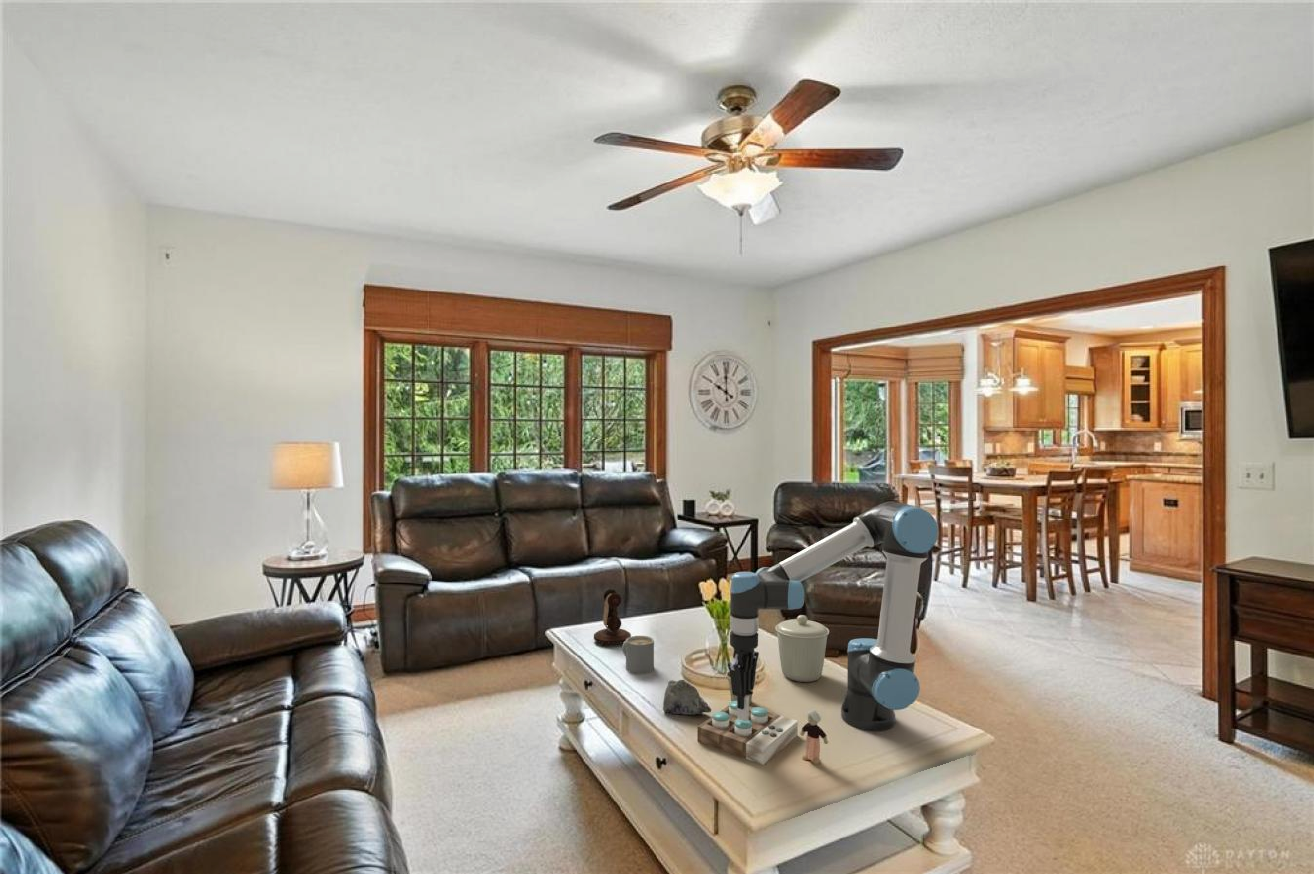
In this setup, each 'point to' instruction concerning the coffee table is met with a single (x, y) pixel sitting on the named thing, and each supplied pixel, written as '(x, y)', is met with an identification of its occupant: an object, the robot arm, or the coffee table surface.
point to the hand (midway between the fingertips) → (742, 719)
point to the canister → (802, 648)
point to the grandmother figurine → (813, 737)
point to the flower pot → (733, 697)
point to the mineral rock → (683, 699)
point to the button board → (756, 746)
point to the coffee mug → (639, 654)
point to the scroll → (611, 621)
